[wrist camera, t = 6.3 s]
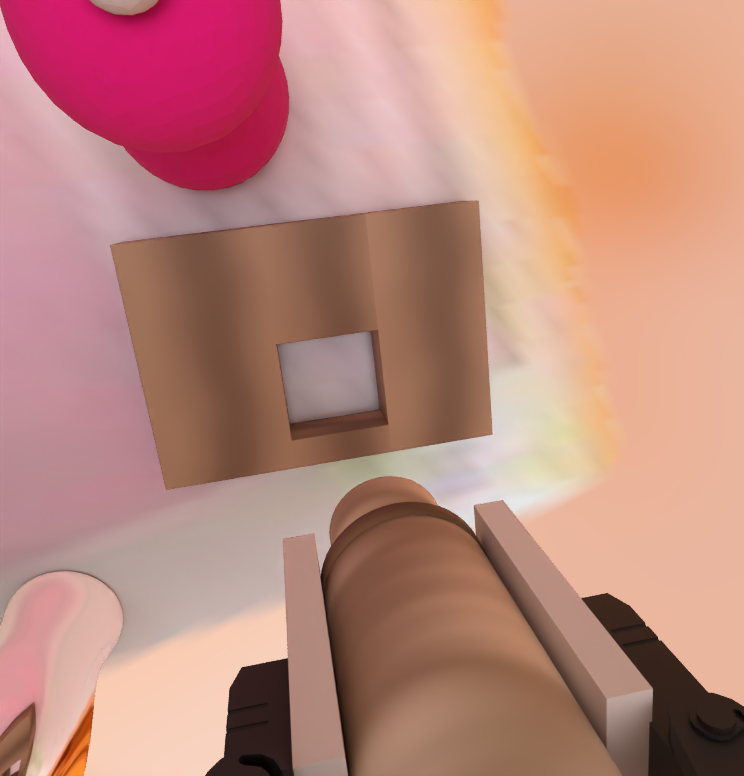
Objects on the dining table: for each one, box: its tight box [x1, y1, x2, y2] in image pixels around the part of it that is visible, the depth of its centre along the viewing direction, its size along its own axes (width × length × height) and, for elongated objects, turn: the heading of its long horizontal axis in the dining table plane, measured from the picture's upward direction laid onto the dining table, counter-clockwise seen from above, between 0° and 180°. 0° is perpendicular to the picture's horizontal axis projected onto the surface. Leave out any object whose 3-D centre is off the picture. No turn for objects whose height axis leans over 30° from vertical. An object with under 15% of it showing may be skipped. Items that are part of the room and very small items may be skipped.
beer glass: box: [0, 571, 123, 776], centre depth 28 cm, size 7×7×15 cm
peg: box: [321, 477, 623, 776], centre depth 11 cm, size 4×4×14 cm
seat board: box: [110, 201, 492, 490], centre depth 32 cm, size 17×12×2 cm
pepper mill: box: [0, 0, 289, 190], centre depth 20 cm, size 7×7×20 cm
